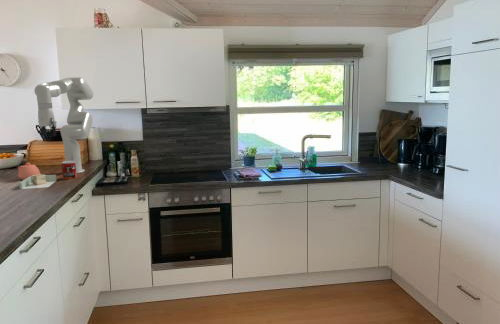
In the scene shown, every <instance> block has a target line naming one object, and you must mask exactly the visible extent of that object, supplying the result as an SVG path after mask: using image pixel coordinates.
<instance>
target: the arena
mask: <svg viewBox="0 0 500 324" xmlns="http://www.w3.org/2000/svg"><path fill="white" fill-rule="evenodd" d="M44 175H45V178H46V183H45V184H40V185H35V184H33V180H32V176H30V177H28V178H26V179H25V180H22V181H19V182H18V186H19V189H20V190H25V189H26V190H27V189H44V188H49V187H51V186H52V185H53V184H54V183H56V182H57V174H44Z"/></svg>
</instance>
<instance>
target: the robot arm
mask: <svg viewBox="0 0 500 324" xmlns="http://www.w3.org/2000/svg"><path fill="white" fill-rule="evenodd" d="M34 94H35V96H36V101H37V118H38V119H37V121H38V122H37V123H38V125H39V127H40V128H39V129H40V133H41V134H40V135H41V136H48V131H47V128H46V127H48V128H49V131H50V132H49V133H50V137H57V130H56V129H57V123H58V122H57V121H56V120H55V119H56V118H55V115H54V110H53V99H52V98H57V97H60V96H61V95H62V94H63V95H64V94H66V97H67V99H68V103H69V106H70V107H69V110H68V115H67V118H66V122H67V124H66V125H63V126H62V127H61V128H60V130H59V131H60V136H61V139H62V143H63V150H64V161H75V164H76V173H77V174H81V173H84V172H85V169H84V168H83V167H82V158H81V157H82V155H81V148H80V143H79V142H78V140H86V139H87V138H89V136H90V133H91V128H92V124H93V116H92V113H91V112H89V111H84V109H85V107H84V105H83V104H82V103H81V102H80V101H86V100H87V101H89V100H91V99H92V98H93V97H94V91H93V89H92V87H91V86H90V85H89V84H88V82H87V80H85V79H84V78H83V77H81V76H80V77H79V76H78V77H75V76H74V77H65V78H62V79H59V80H54V81H49V82H43V83H40V84H37V85H36V86H35V87H34Z"/></svg>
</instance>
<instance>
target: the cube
mask: <svg viewBox="0 0 500 324" xmlns="http://www.w3.org/2000/svg"><path fill="white" fill-rule="evenodd" d="M45 175H46V174H44V173H43V174H42V173H40V174H38V175H32V180H33V184H35V185H40V184H45V183H46V178H45Z"/></svg>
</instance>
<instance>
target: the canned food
mask: <svg viewBox="0 0 500 324" xmlns="http://www.w3.org/2000/svg"><path fill="white" fill-rule="evenodd" d="M61 169H62V178H63V180H74V179H77V178H78V173H76V164H75V161H65V160H64V161H62V162H61Z"/></svg>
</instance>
